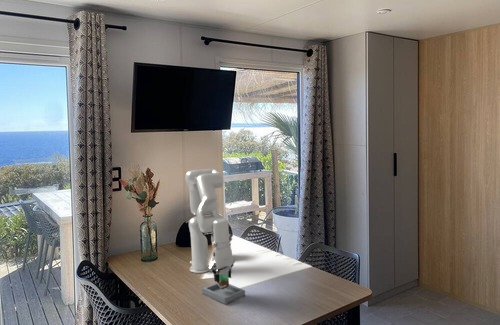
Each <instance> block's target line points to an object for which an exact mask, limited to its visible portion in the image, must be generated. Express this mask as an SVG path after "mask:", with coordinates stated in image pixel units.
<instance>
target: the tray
mask: <svg viewBox="0 0 500 325" xmlns="http://www.w3.org/2000/svg"><path fill="white" fill-rule="evenodd" d="M201 292H202V293H201V295H204V296H206V297H208V298H210V299H212V300H214V301H216V302H218V303H220V304H223V305H225V306H226V305H227V304H230V303H232V302H235V301H237V300H239V299H242V298H245V297H246V290H245V289H243V288H240V287H238V286H236V285H233V284H231V283H229V286H228V287H227V288H225V289H221V288H220V287H219V285H218V284H217V282H215V283H212V284H209V285H207V286H204V287H202V288H201Z"/></svg>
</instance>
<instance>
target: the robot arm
mask: <svg viewBox="0 0 500 325" xmlns="http://www.w3.org/2000/svg"><path fill="white" fill-rule="evenodd" d="M185 182H186V186H187V188H188V190H189V192H188V193H189V207H190V213H191V214H193V215H195V216H193V217H192V218H189V220H188V228H189V233H190V235H189V236H190V246H191V260H190V261H189V264H191V266H190V267H189V272H192V273H195V274H203V273H207V272H209V271H210V272H211V273H212V274H213V278H214V282H215V283H217V282H219V274H218V272H219V269H223V268H226V267H229V268H230V270H229V271H228V273H229V279H232V270H233V267H234V264H235V262H236V260H235V259H234V257H233V250H232V247H231V246H229V234H230V233H229V232H230V231H229V230H230V229H229V221H228V220H227V218H226V217H225V216H223V215H219V206H218V202H217V201H218V195H217V192H216V189H221V188H222V187H224V178H223V176H222V174H221V173H220V172H219V171H218V170H216V169H214V168H205V169H203V168H202V169H192V170H189V171H187V172H186V174H185ZM206 214H207V215H206ZM208 214H209V215H208ZM205 233H212V235H213V234H214V244H213V245H212V244H211V247H212V246H213V247H214V248H213V249H212V256H211V264H210V265H209V246H208V239H207V237H206V236H205V235H204V234H205ZM216 269H217V270H216Z"/></svg>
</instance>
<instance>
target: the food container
mask: <svg viewBox="0 0 500 325" xmlns="http://www.w3.org/2000/svg"><path fill="white" fill-rule="evenodd" d="M216 270H217V269H216ZM229 270H230V268H229V267H226V268H223V269H219V272H218V274H219V282H216V283H217V284H218V285H219V287H220V288H221V289H225V288H227V287H228V286H229V284H230V280H229V279H230V278H229V273H228V271H229Z"/></svg>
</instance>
